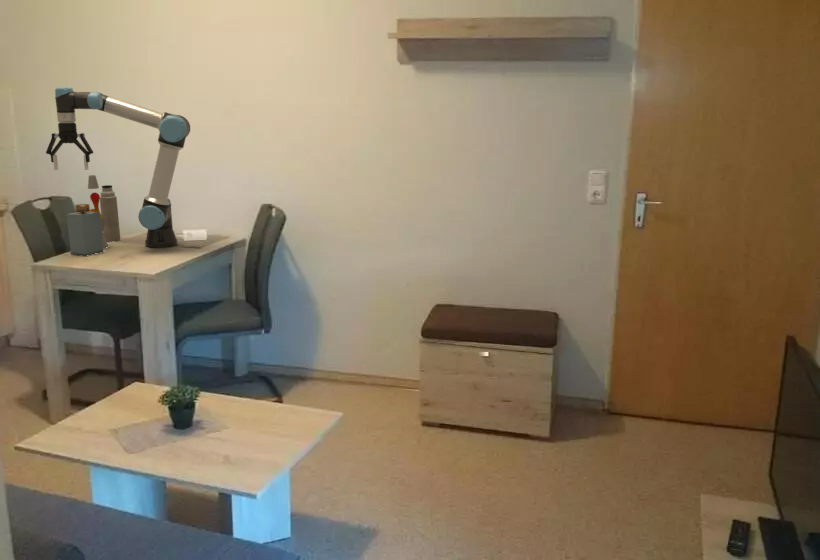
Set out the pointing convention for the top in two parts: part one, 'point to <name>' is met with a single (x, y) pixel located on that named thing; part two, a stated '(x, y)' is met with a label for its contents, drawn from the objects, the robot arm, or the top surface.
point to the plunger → (82, 208)
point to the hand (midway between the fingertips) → (71, 169)
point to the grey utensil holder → (85, 233)
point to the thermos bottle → (110, 214)
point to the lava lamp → (97, 205)
